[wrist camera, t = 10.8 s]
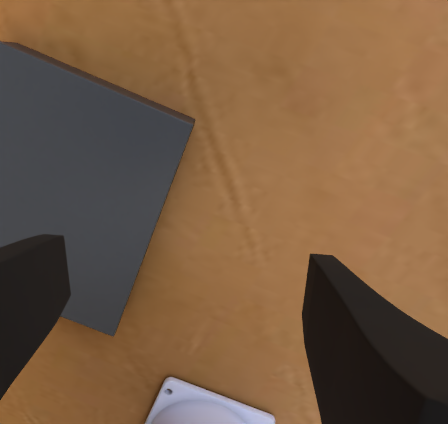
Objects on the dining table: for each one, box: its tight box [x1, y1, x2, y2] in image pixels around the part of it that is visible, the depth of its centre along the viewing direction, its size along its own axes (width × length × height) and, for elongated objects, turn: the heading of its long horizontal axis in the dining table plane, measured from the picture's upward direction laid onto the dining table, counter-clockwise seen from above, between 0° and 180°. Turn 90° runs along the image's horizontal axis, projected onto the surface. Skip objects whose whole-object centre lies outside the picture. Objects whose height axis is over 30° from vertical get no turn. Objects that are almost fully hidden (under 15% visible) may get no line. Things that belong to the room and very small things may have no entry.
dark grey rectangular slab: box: [0, 41, 195, 336], centre depth 21 cm, size 13×10×2 cm
